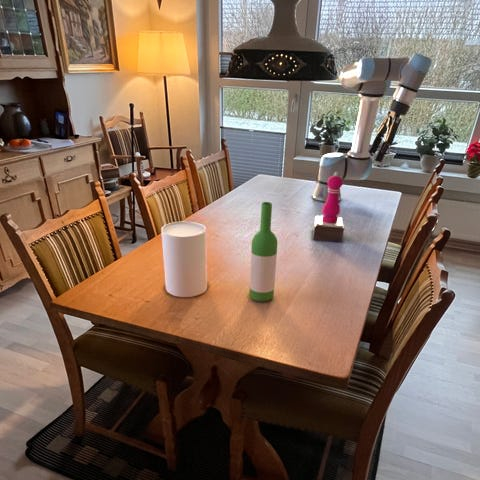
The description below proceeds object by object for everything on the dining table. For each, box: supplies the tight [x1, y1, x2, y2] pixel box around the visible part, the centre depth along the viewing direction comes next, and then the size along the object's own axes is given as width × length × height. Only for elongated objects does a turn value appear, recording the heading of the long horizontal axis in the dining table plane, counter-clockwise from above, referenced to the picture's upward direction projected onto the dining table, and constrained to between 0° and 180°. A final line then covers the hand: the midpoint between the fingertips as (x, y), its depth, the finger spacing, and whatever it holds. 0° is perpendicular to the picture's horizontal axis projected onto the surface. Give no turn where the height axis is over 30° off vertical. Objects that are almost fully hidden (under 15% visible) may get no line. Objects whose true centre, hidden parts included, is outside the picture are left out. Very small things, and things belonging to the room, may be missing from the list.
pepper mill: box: [322, 172, 344, 223], centre depth 170 cm, size 7×7×20 cm
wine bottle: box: [249, 201, 278, 303], centre depth 124 cm, size 8×8×30 cm
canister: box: [160, 220, 208, 298], centre depth 131 cm, size 14×14×20 cm
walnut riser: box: [312, 215, 345, 243], centre depth 177 cm, size 12×12×7 cm
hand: (374, 156), depth 169 cm, fingers open, 13 cm apart
